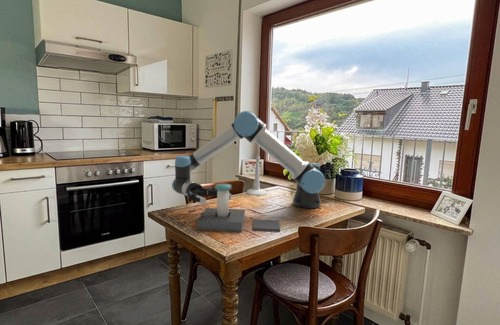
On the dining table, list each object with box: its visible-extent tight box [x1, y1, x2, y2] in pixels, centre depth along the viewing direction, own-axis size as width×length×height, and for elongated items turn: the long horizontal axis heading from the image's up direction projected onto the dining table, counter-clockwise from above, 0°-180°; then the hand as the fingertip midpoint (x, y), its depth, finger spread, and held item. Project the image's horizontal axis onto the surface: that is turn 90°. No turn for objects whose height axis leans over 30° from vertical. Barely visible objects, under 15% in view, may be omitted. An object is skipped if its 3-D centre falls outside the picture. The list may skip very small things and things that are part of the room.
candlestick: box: [245, 145, 268, 197], centre depth 184 cm, size 13×13×30 cm
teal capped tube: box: [214, 183, 232, 217], centre depth 128 cm, size 7×7×17 cm
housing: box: [197, 207, 246, 233], centre depth 129 cm, size 18×18×4 cm
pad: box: [252, 218, 281, 232], centre depth 127 cm, size 11×11×1 cm
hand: (218, 199), depth 129 cm, fingers open, 13 cm apart
